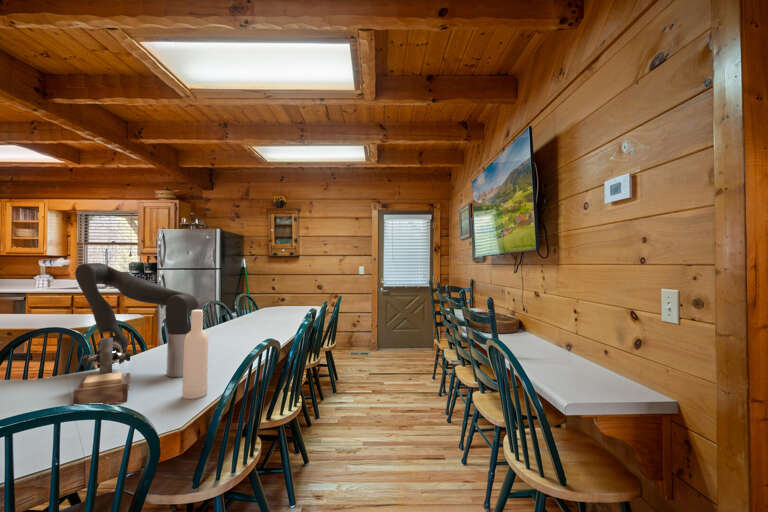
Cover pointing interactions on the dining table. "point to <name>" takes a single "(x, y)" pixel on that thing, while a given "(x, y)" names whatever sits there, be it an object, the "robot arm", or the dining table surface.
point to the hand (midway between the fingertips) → (105, 362)
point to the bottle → (195, 359)
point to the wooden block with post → (104, 367)
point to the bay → (102, 393)
